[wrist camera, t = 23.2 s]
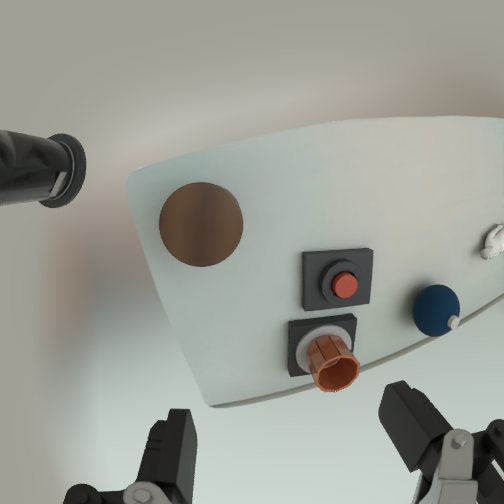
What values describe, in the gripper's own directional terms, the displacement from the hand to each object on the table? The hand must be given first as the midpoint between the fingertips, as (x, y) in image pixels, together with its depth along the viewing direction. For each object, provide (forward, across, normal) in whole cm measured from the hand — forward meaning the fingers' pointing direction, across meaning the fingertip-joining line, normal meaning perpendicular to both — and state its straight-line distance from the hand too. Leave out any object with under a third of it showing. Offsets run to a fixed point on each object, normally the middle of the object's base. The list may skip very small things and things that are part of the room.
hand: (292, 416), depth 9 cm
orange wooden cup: (+26, -10, +14) cm, 31 cm away
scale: (+28, -10, +14) cm, 33 cm away
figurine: (+28, -50, 0) cm, 57 cm away
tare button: (+25, -12, +4) cm, 28 cm away
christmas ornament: (+28, -29, +10) cm, 42 cm away
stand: (+28, +5, -6) cm, 29 cm away
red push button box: (+28, -12, +4) cm, 31 cm away
